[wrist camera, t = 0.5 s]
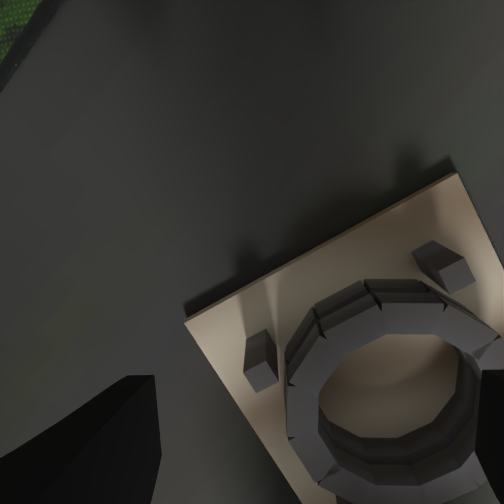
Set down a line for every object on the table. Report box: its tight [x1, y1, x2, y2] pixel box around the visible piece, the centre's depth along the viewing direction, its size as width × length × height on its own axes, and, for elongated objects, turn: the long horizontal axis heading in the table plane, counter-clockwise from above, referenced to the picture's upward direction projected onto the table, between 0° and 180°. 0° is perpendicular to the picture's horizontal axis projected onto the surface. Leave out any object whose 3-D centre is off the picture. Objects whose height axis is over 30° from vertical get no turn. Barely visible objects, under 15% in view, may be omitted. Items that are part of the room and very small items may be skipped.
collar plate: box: [184, 172, 504, 504], centre depth 19 cm, size 13×13×4 cm
